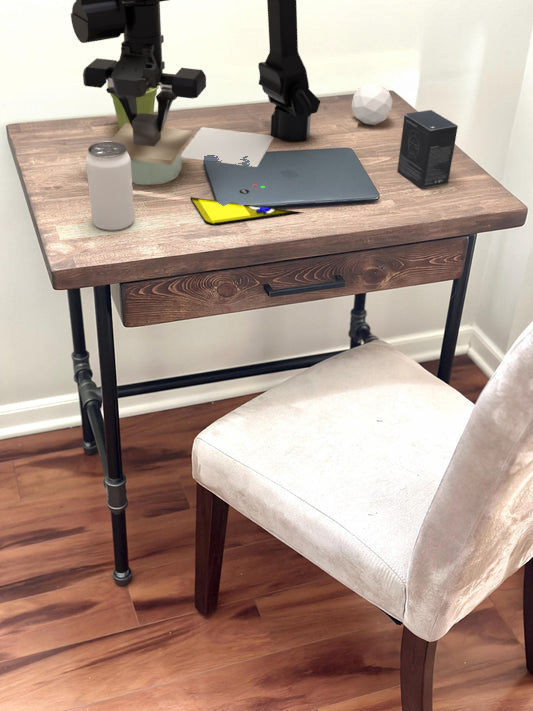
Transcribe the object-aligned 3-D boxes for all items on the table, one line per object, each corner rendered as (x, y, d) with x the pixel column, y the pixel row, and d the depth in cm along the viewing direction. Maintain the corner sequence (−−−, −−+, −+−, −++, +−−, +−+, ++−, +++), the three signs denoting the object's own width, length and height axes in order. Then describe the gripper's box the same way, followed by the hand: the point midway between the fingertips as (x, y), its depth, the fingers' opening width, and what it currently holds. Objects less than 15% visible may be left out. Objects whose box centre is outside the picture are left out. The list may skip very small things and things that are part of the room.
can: (93, 212, 136) (86, 139, 129) (135, 211, 137) (130, 139, 130) (90, 232, 131) (83, 158, 124) (133, 231, 132) (128, 158, 124)
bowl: (186, 167, 150) (186, 137, 147) (168, 192, 142) (167, 161, 139) (132, 160, 152) (130, 130, 149) (111, 184, 144) (108, 153, 141)
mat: (274, 140, 161) (274, 135, 160) (256, 171, 150) (256, 167, 149) (201, 131, 163) (201, 126, 163) (179, 161, 152) (179, 156, 152)
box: (448, 184, 148) (459, 125, 142) (421, 190, 146) (430, 130, 140) (422, 166, 154) (431, 108, 148) (395, 171, 152) (403, 112, 146)
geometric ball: (359, 137, 170) (337, 105, 166) (376, 111, 174) (355, 79, 170) (389, 129, 164) (367, 95, 160) (406, 102, 168) (385, 68, 164)
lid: (192, 135, 148) (192, 108, 145) (171, 165, 138) (169, 136, 135) (126, 127, 149) (123, 100, 147) (100, 156, 140) (97, 128, 137)
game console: (208, 231, 134) (208, 222, 133) (187, 199, 142) (186, 191, 141) (315, 214, 139) (315, 206, 138) (288, 185, 148) (288, 177, 147)
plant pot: (152, 142, 158) (150, 95, 153) (103, 136, 160) (99, 90, 155) (167, 123, 166) (165, 78, 161) (120, 117, 167) (116, 73, 162)
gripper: (63, 42, 128) (74, 142, 138) (185, 55, 125) (187, 156, 135) (92, 20, 137) (100, 116, 146) (206, 32, 134) (207, 129, 143)
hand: (147, 129), depth 142 cm, fingers open, 4 cm apart
